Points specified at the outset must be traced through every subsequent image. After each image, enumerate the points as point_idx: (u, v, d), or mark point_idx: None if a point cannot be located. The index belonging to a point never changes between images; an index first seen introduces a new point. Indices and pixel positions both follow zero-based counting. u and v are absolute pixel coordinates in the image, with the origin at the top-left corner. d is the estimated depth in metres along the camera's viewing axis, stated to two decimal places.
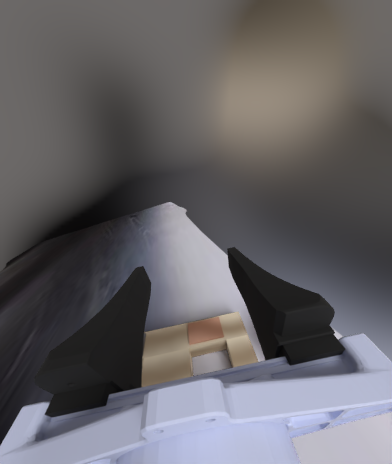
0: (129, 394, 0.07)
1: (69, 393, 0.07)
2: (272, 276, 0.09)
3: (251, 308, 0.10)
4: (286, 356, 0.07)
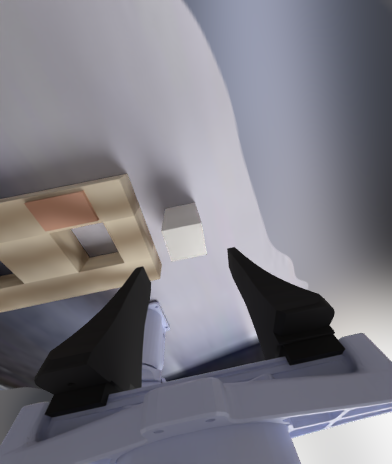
0: (129, 394, 0.07)
1: (69, 393, 0.07)
2: (272, 276, 0.09)
3: (251, 308, 0.10)
4: (286, 356, 0.07)
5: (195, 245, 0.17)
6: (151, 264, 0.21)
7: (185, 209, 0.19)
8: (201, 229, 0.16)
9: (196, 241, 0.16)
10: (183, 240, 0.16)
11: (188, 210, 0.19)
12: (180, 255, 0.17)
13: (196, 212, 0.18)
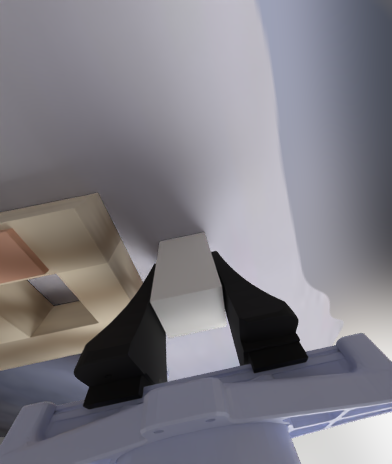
0: None
1: (105, 385, 0.07)
2: (245, 282, 0.09)
3: (227, 313, 0.10)
4: (251, 364, 0.07)
5: (208, 316, 0.10)
6: None
7: (190, 246, 0.12)
8: (221, 295, 0.09)
9: (211, 311, 0.10)
10: (189, 310, 0.09)
11: (194, 249, 0.12)
12: (183, 330, 0.10)
13: (209, 255, 0.11)
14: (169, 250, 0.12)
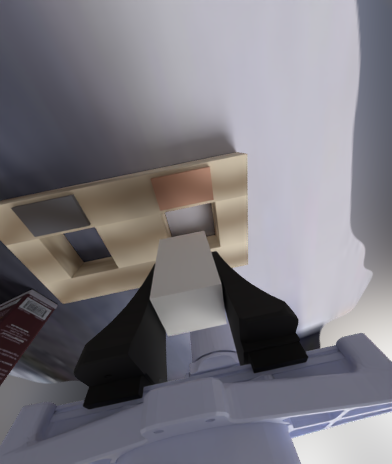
0: None
1: (105, 385, 0.07)
2: (245, 282, 0.09)
3: (227, 313, 0.10)
4: (251, 364, 0.07)
5: (208, 314, 0.10)
6: (245, 249, 0.20)
7: (190, 244, 0.12)
8: (220, 293, 0.09)
9: (210, 308, 0.10)
10: (189, 308, 0.09)
11: (194, 247, 0.12)
12: (183, 327, 0.10)
13: (209, 254, 0.11)
14: (169, 248, 0.12)
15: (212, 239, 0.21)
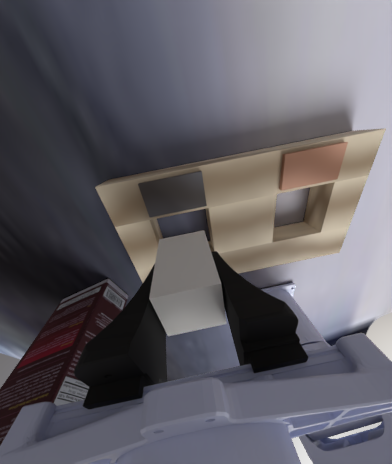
0: None
1: (105, 385, 0.07)
2: (245, 282, 0.09)
3: (227, 313, 0.10)
4: (251, 364, 0.07)
5: (207, 313, 0.10)
6: (343, 235, 0.19)
7: (190, 244, 0.12)
8: (220, 292, 0.09)
9: (210, 308, 0.10)
10: (189, 308, 0.09)
11: (194, 246, 0.12)
12: (183, 327, 0.10)
13: (208, 253, 0.11)
14: (168, 248, 0.12)
15: (304, 225, 0.21)
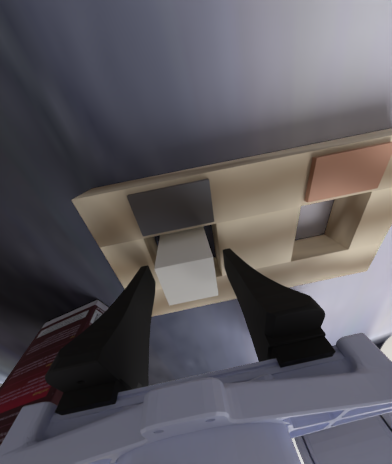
0: (129, 394, 0.07)
1: (78, 391, 0.07)
2: (265, 277, 0.09)
3: (245, 309, 0.10)
4: (276, 358, 0.07)
5: (202, 285, 0.12)
6: (374, 252, 0.16)
7: (188, 230, 0.14)
8: (212, 265, 0.11)
9: (204, 280, 0.12)
10: (186, 279, 0.11)
11: (192, 231, 0.14)
12: (181, 297, 0.12)
13: (204, 236, 0.13)
14: (170, 233, 0.14)
15: (326, 240, 0.17)
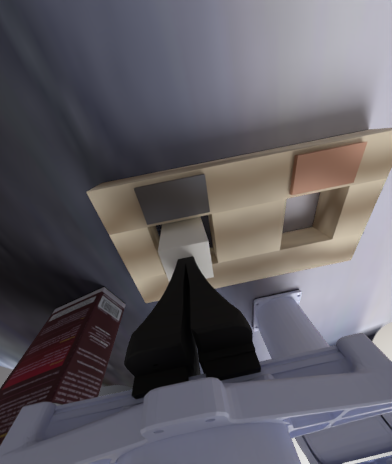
0: (129, 394, 0.07)
1: (150, 375, 0.07)
2: (211, 289, 0.09)
3: None
4: (206, 374, 0.07)
5: (199, 267, 0.13)
6: (356, 242, 0.18)
7: (187, 220, 0.16)
8: (208, 248, 0.13)
9: (201, 262, 0.13)
10: None
11: (190, 222, 0.15)
12: None
13: (201, 225, 0.15)
14: (171, 223, 0.16)
15: (313, 231, 0.19)
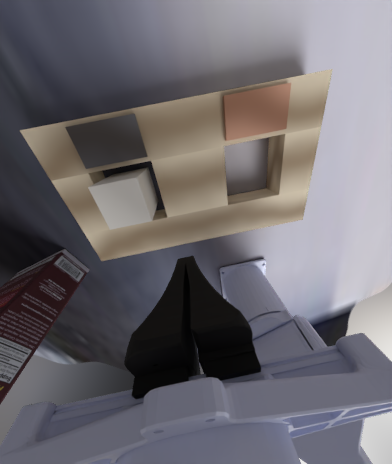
0: (129, 394, 0.07)
1: (150, 375, 0.07)
2: (211, 289, 0.09)
3: None
4: (206, 374, 0.07)
5: (135, 208, 0.14)
6: (304, 199, 0.19)
7: (132, 172, 0.16)
8: (138, 186, 0.13)
9: (135, 202, 0.14)
10: (119, 200, 0.13)
11: (134, 172, 0.16)
12: (119, 221, 0.14)
13: (141, 172, 0.15)
14: (116, 175, 0.16)
15: (265, 191, 0.20)
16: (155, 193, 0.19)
